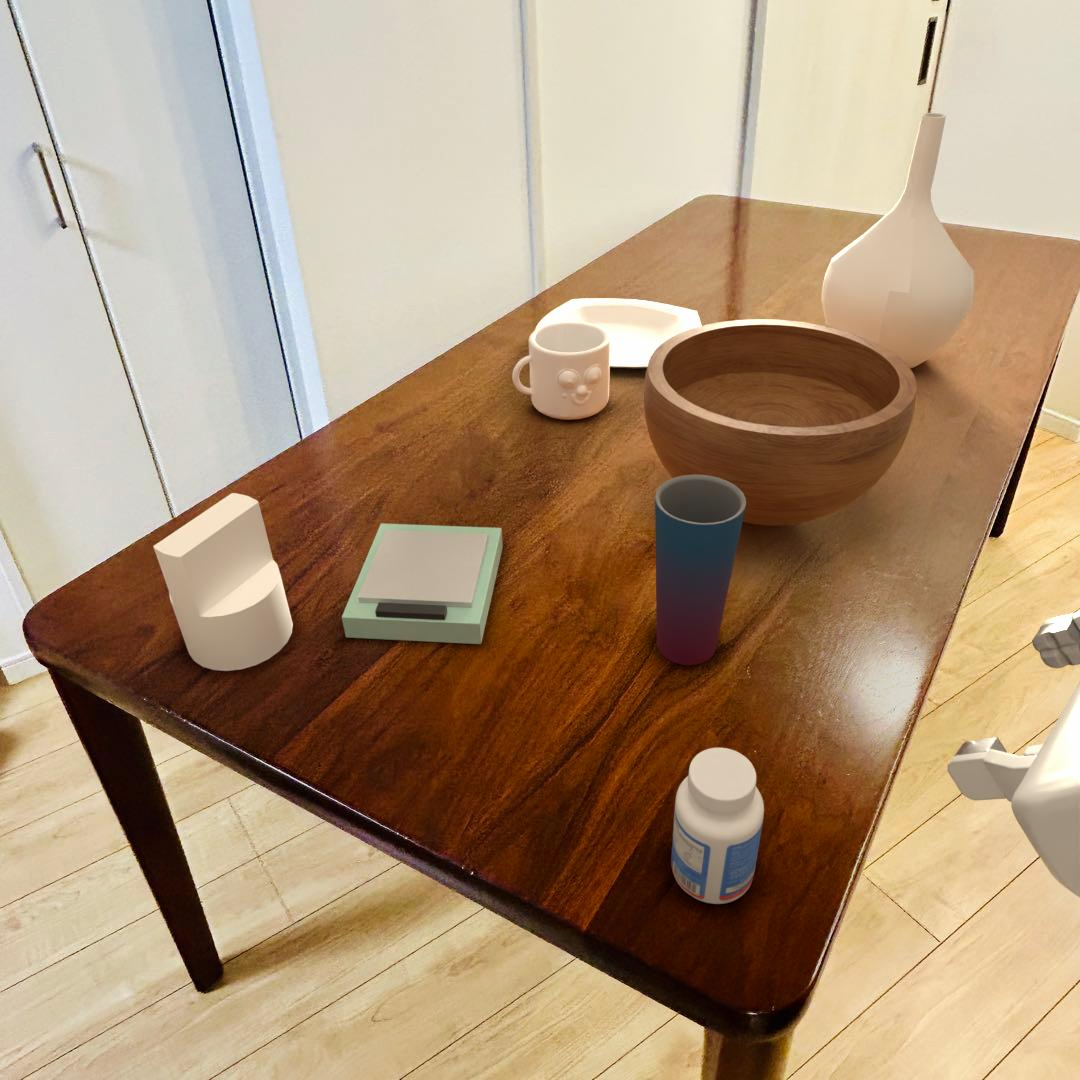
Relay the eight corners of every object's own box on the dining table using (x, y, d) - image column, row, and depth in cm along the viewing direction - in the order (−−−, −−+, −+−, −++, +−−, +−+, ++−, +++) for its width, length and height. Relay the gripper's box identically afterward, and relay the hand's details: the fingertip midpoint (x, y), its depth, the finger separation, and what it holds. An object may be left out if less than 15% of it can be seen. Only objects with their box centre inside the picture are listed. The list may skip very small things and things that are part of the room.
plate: (684, 388, 115) (685, 374, 114) (513, 368, 121) (512, 354, 120) (713, 319, 133) (714, 306, 131) (562, 304, 139) (562, 291, 138)
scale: (481, 644, 78) (478, 617, 76) (345, 637, 79) (339, 610, 77) (502, 547, 89) (501, 521, 87) (383, 542, 90) (379, 517, 88)
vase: (783, 349, 124) (817, 113, 106) (873, 317, 132) (919, 93, 114) (892, 399, 111) (951, 141, 93) (984, 361, 119) (1055, 117, 101)
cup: (742, 659, 75) (764, 511, 66) (669, 682, 73) (682, 533, 64) (701, 610, 80) (716, 467, 71) (632, 630, 78) (639, 485, 70)
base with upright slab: (241, 684, 74) (206, 570, 67) (165, 649, 78) (123, 537, 71) (314, 620, 81) (288, 509, 74) (239, 590, 84) (208, 482, 77)
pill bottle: (750, 838, 61) (768, 741, 56) (755, 911, 57) (775, 814, 51) (669, 830, 62) (679, 734, 56) (668, 901, 58) (678, 805, 52)
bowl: (802, 615, 80) (830, 469, 71) (589, 508, 94) (590, 376, 85) (929, 497, 94) (966, 364, 85) (727, 420, 108) (741, 299, 99)
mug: (525, 435, 106) (522, 364, 101) (504, 397, 114) (501, 329, 109) (621, 420, 109) (623, 350, 103) (594, 383, 117) (595, 316, 111)
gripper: (1410, 416, 33) (1049, 531, 44) (1319, 746, 21) (856, 789, 32) (1498, 560, 33) (1116, 638, 45) (1457, 966, 21) (949, 933, 33)
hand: (1005, 704), depth 38 cm, fingers open, 8 cm apart
